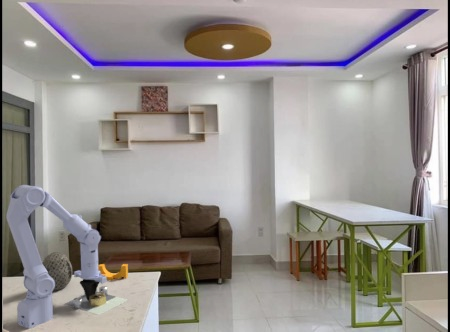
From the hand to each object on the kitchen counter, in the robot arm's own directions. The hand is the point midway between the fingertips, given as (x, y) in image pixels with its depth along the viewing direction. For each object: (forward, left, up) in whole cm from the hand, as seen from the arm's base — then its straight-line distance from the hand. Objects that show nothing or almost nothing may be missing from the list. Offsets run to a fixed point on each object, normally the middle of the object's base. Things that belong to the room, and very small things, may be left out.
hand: (90, 299), depth 122 cm
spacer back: (+5, +5, -1) cm, 7 cm away
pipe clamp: (+20, +11, -2) cm, 23 cm away
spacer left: (-6, 0, -1) cm, 6 cm away
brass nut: (0, -4, -1) cm, 4 cm away
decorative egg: (+2, +23, -2) cm, 23 cm away
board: (0, -2, -2) cm, 3 cm away
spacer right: (+5, 0, -1) cm, 6 cm away
